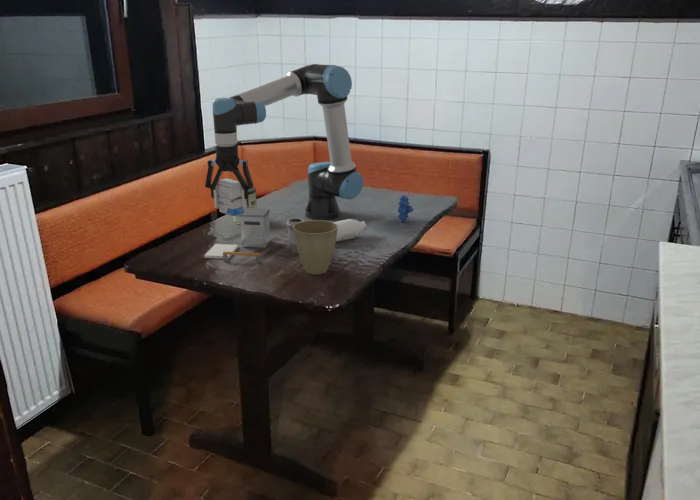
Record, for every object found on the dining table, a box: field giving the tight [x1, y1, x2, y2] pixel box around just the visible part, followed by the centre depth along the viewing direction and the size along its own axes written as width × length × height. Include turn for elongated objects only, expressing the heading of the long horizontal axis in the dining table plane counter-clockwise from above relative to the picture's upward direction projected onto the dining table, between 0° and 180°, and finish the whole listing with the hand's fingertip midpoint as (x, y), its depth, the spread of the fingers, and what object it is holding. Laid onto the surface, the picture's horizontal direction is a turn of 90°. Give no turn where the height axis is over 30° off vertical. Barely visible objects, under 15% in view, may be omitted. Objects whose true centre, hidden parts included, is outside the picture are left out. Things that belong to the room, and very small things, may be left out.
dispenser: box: [222, 208, 271, 264], centre depth 227 cm, size 13×24×13 cm, turn 173°
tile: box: [204, 243, 239, 260], centre depth 227 cm, size 9×12×1 cm
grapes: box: [397, 194, 415, 223], centre depth 259 cm, size 12×7×12 cm, turn 163°
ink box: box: [216, 177, 244, 216], centre depth 219 cm, size 9×5×12 cm, turn 49°
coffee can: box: [233, 186, 258, 225], centre depth 260 cm, size 10×10×14 cm
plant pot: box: [293, 219, 338, 275], centre depth 208 cm, size 15×15×16 cm
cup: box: [286, 217, 305, 254], centre depth 227 cm, size 7×7×12 cm
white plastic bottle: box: [332, 218, 368, 243], centre depth 239 cm, size 8×19×8 cm, turn 123°
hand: (230, 207), depth 220 cm, fingers closed on ink box, 9 cm apart
